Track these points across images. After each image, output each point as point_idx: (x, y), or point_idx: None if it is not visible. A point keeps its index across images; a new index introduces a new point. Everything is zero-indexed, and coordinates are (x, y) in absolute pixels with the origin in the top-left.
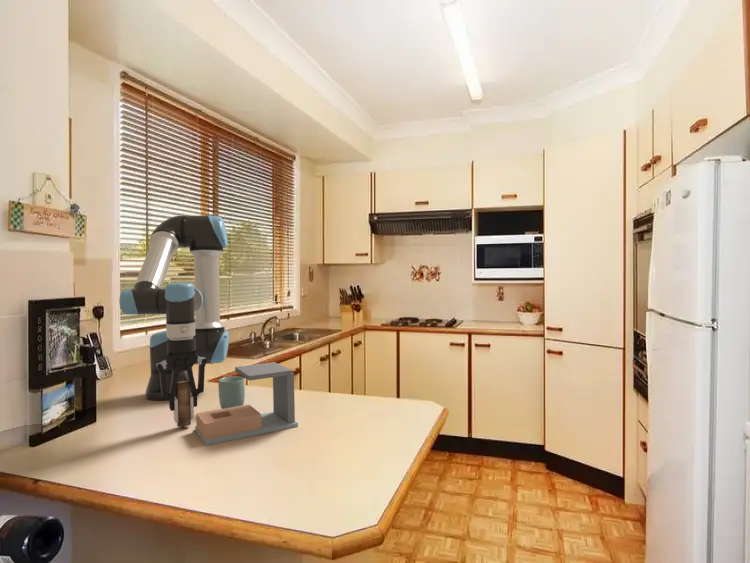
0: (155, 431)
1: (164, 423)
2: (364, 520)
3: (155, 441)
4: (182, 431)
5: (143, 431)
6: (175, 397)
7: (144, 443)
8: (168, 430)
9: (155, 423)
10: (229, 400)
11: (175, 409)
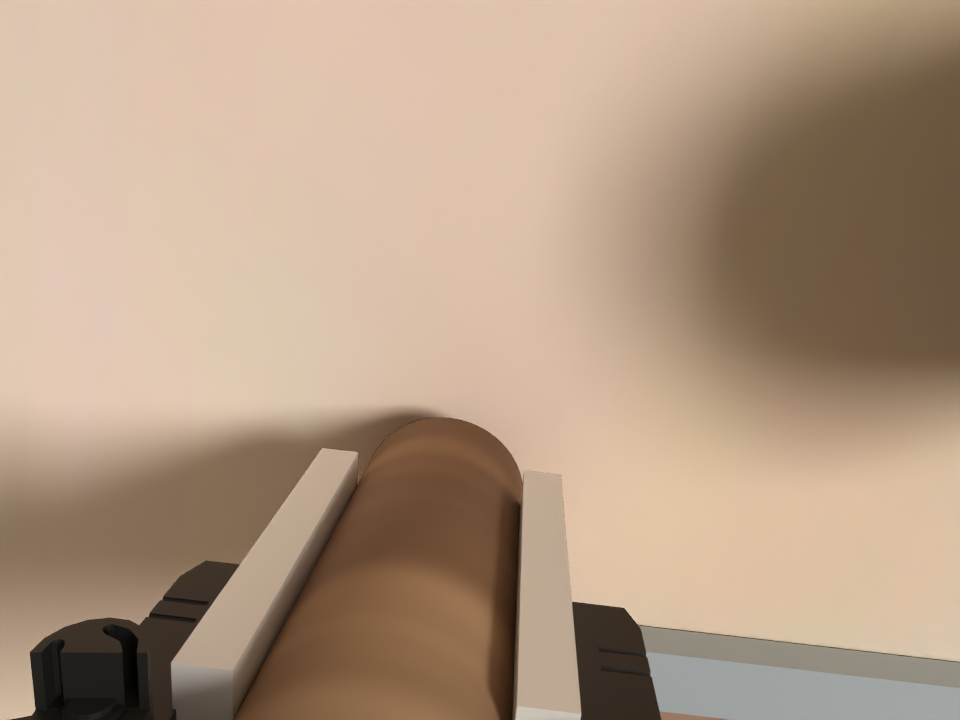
0: (148, 385)
1: (281, 138)
2: None
3: None
4: None
5: (26, 293)
6: (215, 699)
7: (28, 663)
8: (279, 447)
9: (178, 52)
10: None
11: None
